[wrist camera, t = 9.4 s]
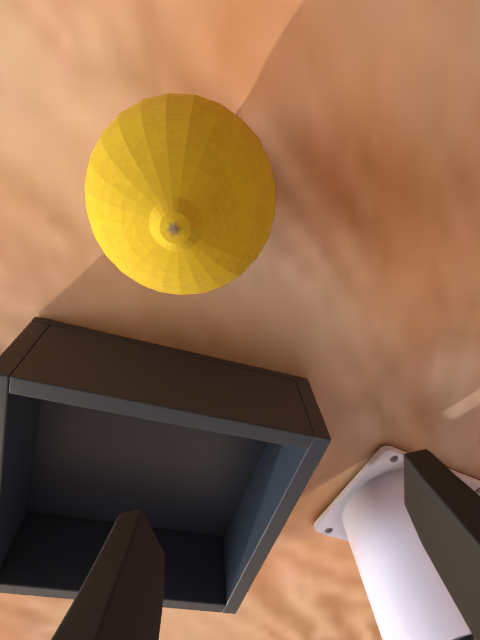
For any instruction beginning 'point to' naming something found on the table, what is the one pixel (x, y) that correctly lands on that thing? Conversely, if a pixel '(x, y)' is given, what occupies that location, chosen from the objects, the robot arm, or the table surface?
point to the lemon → (180, 194)
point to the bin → (146, 461)
